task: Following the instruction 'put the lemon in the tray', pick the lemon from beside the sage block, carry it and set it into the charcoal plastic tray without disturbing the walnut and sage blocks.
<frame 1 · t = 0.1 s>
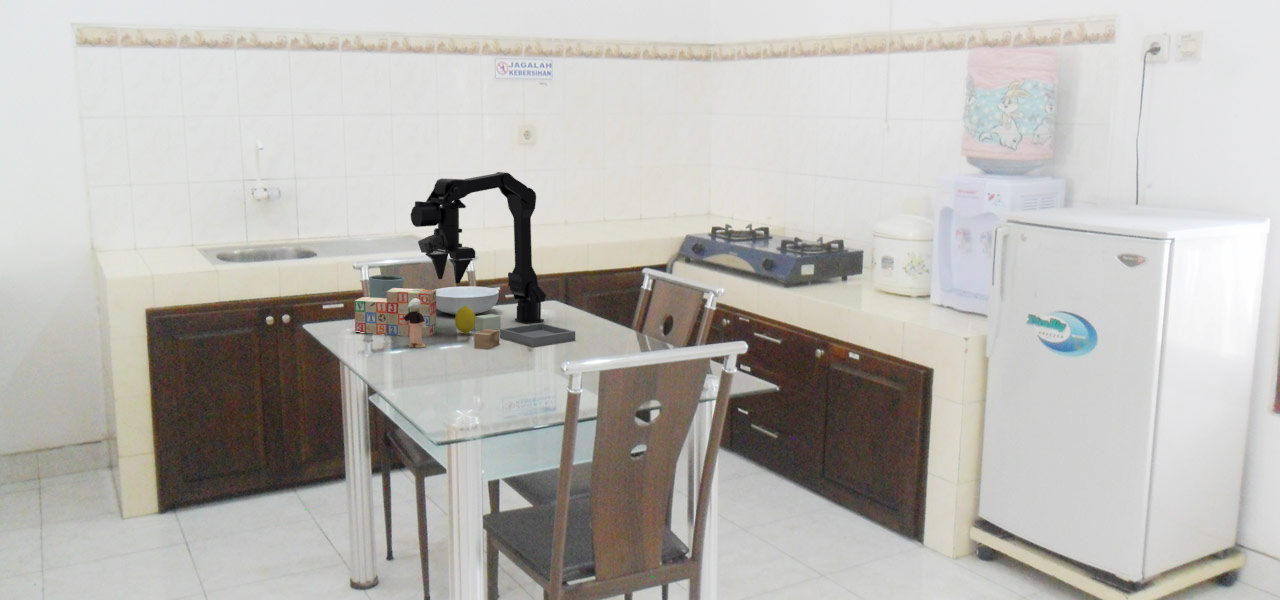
hand: (448, 281, 298), 14 cm above the table, tool pointing down, fingers open, 9 cm apart
walnut block: (487, 346, 285), on the table
blue-grey pot: (387, 317, 321), on the table
stack of blocks: (396, 334, 299), on the table
lemon: (465, 335, 299), on the table
charcoal tray: (537, 339, 295), on the table
grandmother figurine: (415, 346, 282), on the table
serving bowl: (464, 314, 330), on the table
sage block: (487, 330, 306), on the table
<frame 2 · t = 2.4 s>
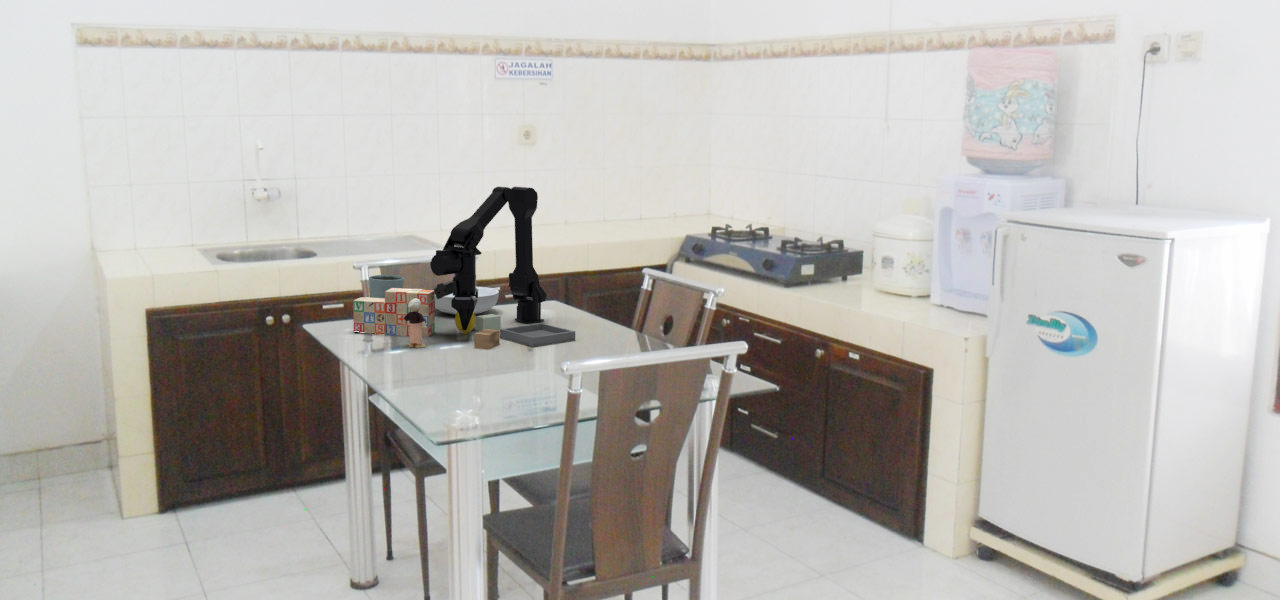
hand: (465, 327, 299), 2 cm above the table, tool pointing down, fingers closed on lemon, 5 cm apart
lemon: (465, 335, 299), on the table, touching gripper
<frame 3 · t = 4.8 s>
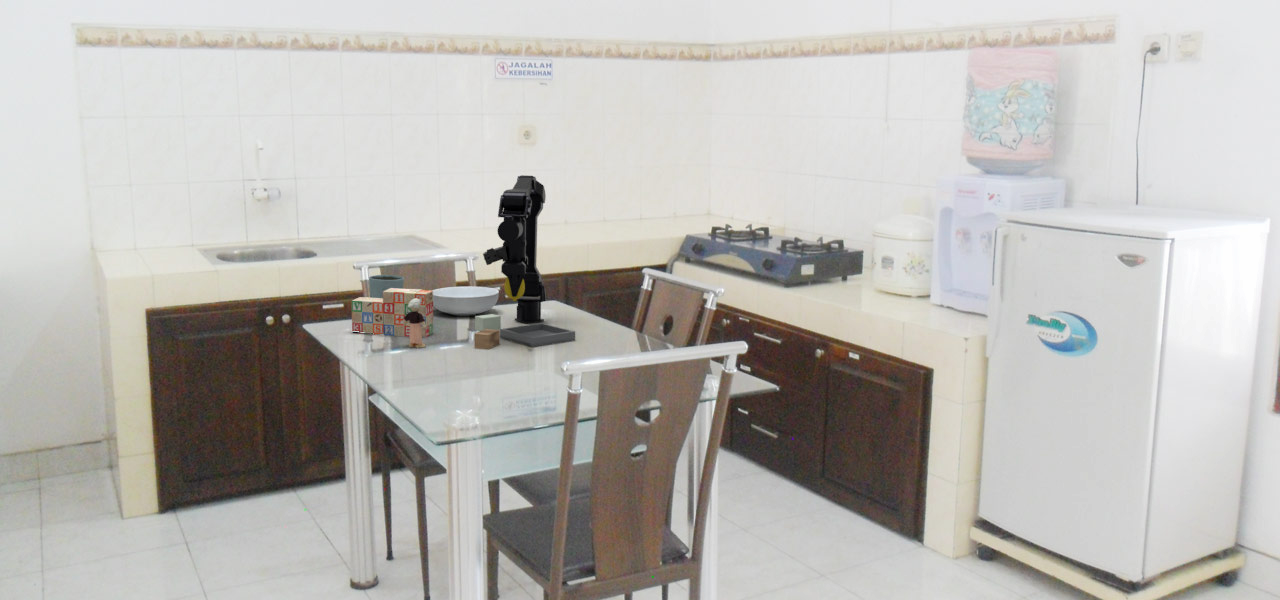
hand: (514, 294, 294), 12 cm above the table, tool pointing down, fingers closed on lemon, 5 cm apart
lemon: (514, 302, 294), point 10 cm above the table, touching gripper
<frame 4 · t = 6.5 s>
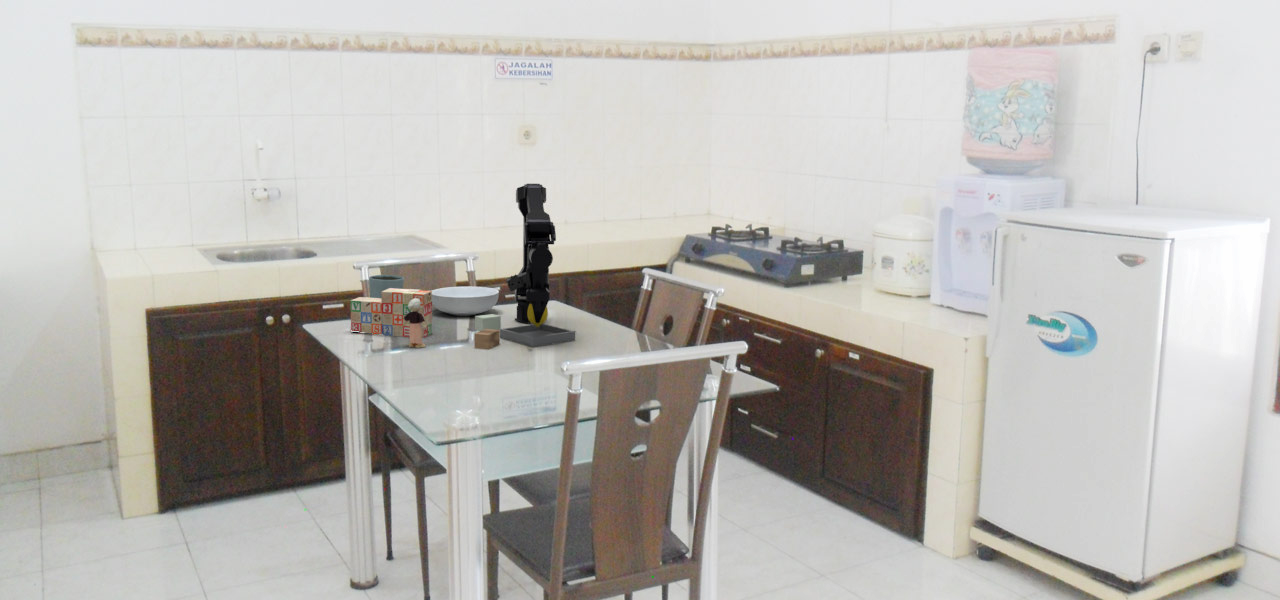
hand: (537, 320, 294), 5 cm above the table, tool pointing down, fingers closed on lemon, 5 cm apart
lemon: (537, 327, 294), point 3 cm above the table, touching gripper
when the fingers open (4 cm above the table, at t = 7.5 s): lemon drops 2 cm, resting on charcoal tray.
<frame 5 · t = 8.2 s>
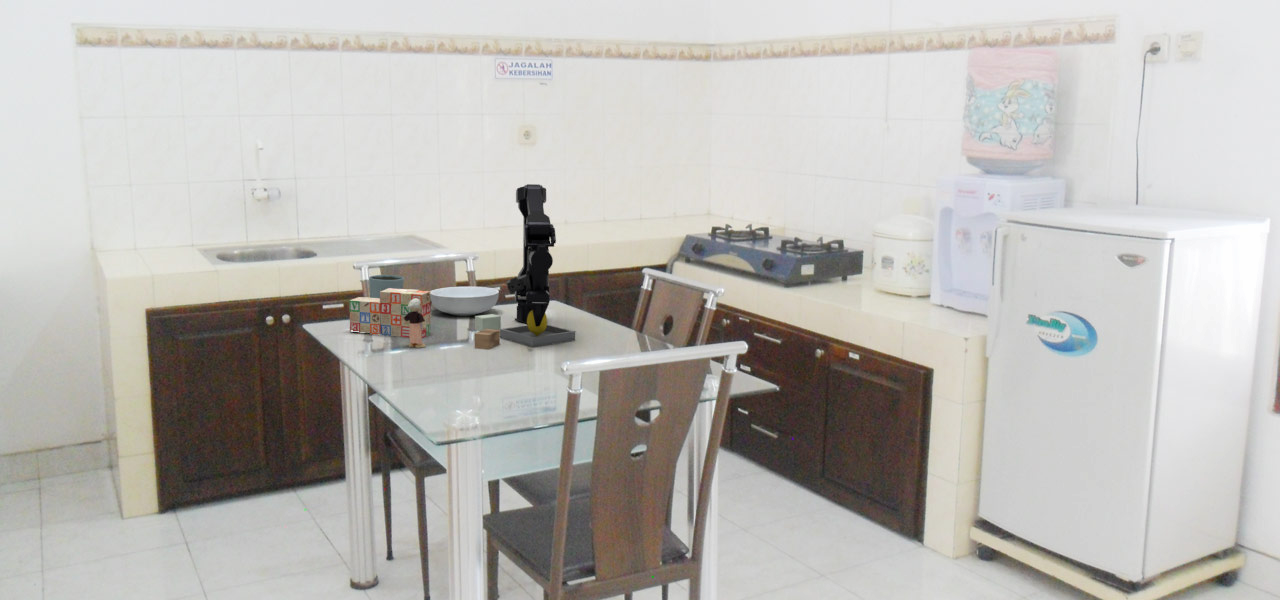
hand: (537, 323, 294), 4 cm above the table, tool pointing down, fingers open, 9 cm apart
lemon: (537, 336, 295), point 1 cm above the table, touching charcoal tray
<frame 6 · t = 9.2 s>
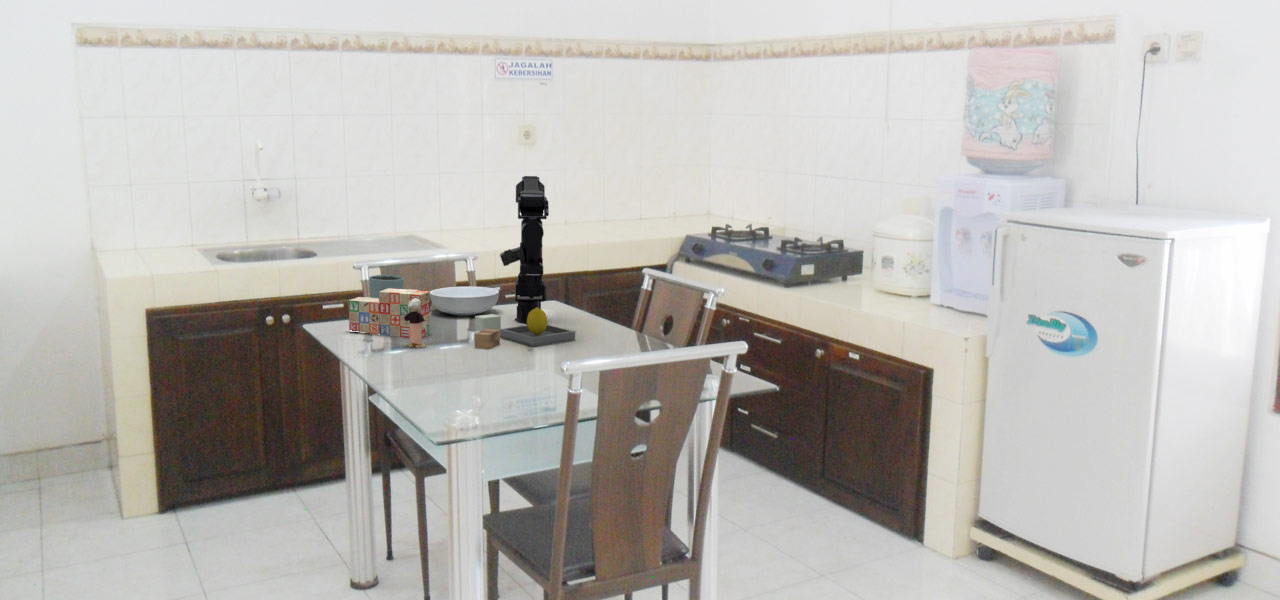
hand: (531, 295, 296), 12 cm above the table, tool pointing down, fingers open, 9 cm apart
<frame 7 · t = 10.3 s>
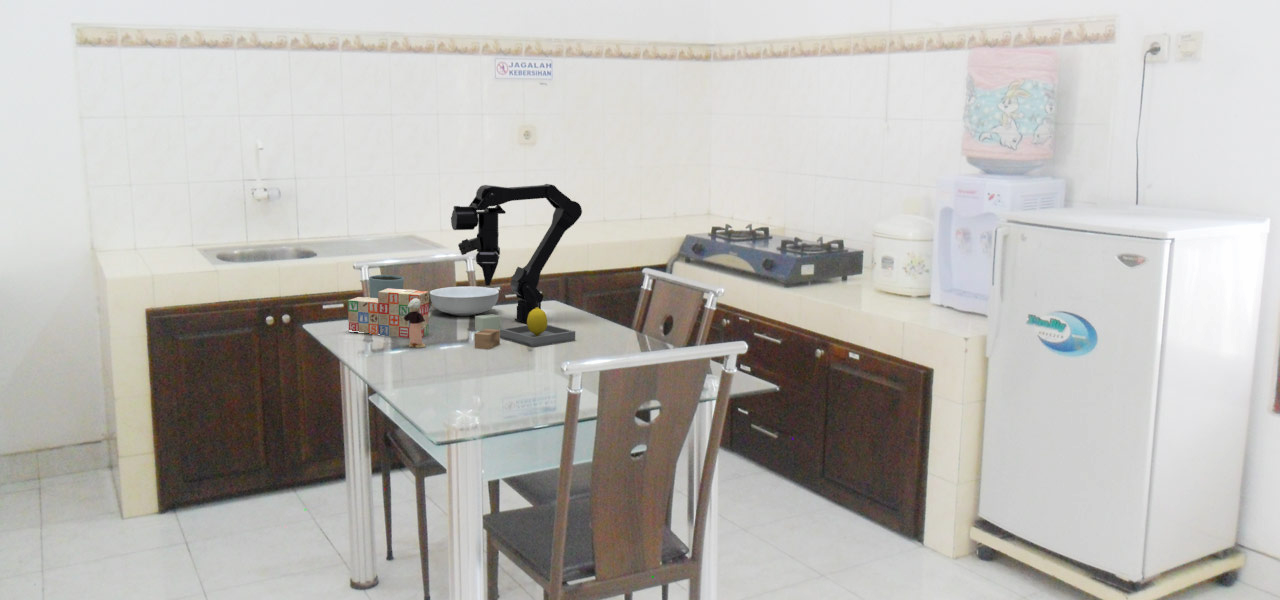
hand: (488, 283, 313), 12 cm above the table, tool pointing down, fingers open, 9 cm apart
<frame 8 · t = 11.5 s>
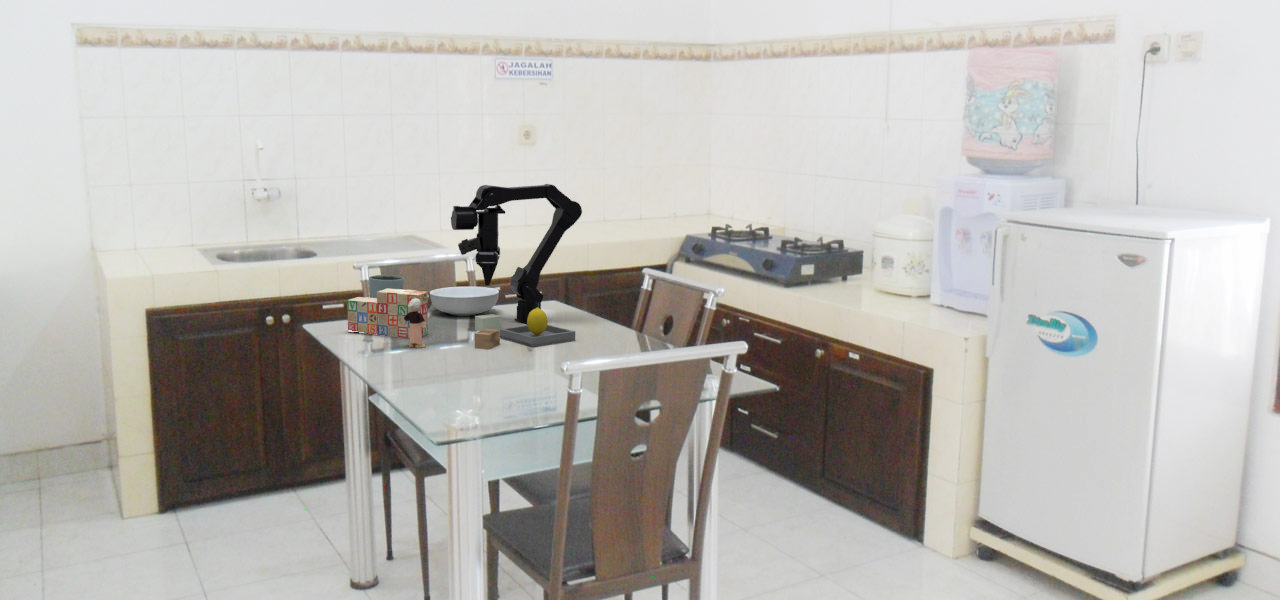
hand: (488, 282, 313), 12 cm above the table, tool pointing down, fingers open, 9 cm apart
at the end: lemon inside the target area on the charcoal tray (0.1 cm from its centre), point 0.6 cm above the charcoal tray's base; walnut block moved 0.3 cm from its start; sage block moved 0.2 cm from its start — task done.
